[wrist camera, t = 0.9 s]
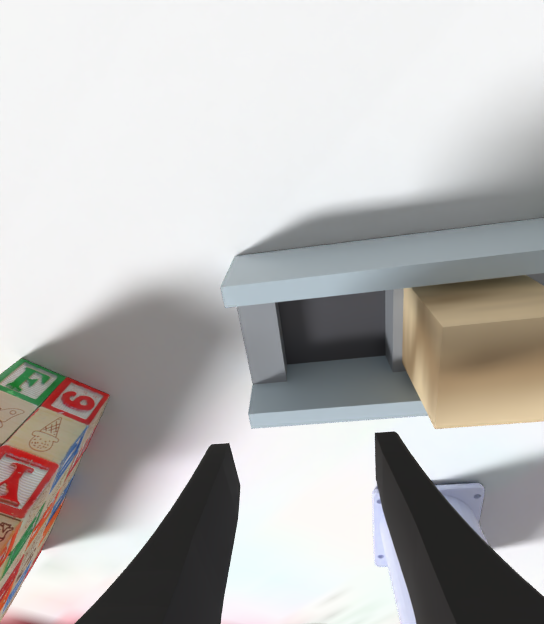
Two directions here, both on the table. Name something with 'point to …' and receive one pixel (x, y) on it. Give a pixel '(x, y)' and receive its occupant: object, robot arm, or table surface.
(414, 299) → the maple block
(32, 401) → the stack of blocks
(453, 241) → the pale green block
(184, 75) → the table surface
